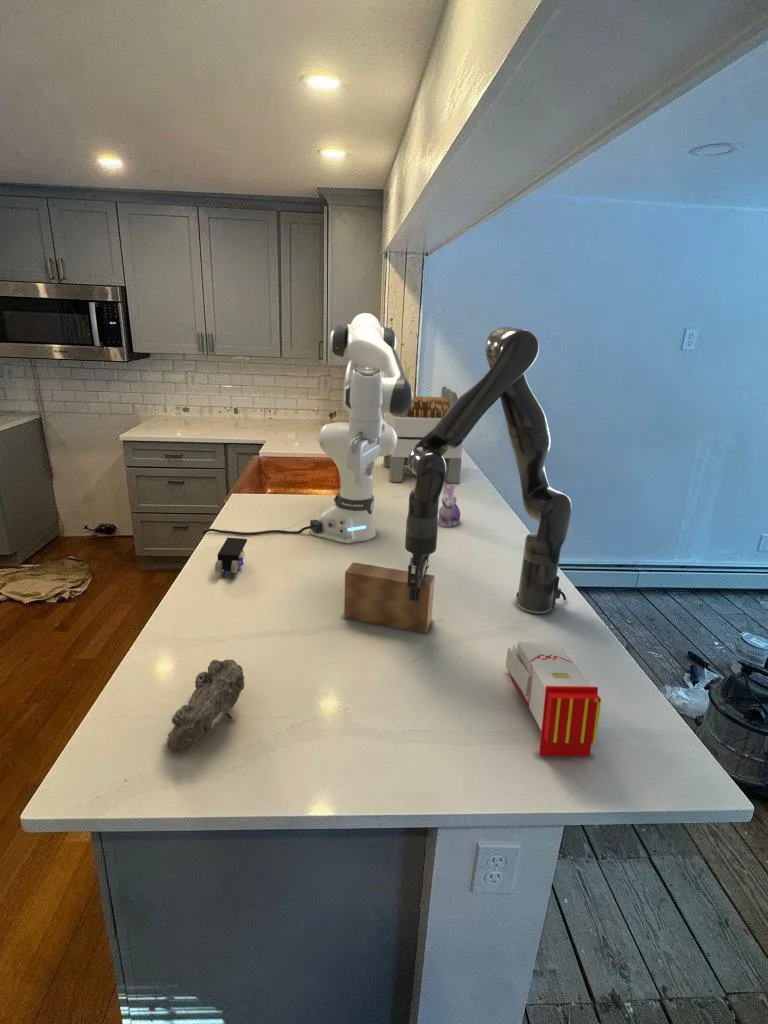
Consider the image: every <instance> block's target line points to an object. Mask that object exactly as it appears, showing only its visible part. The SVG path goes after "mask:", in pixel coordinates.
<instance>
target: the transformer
mask: <svg viewBox="0 0 768 1024" xmlns="http://www.w3.org/2000/svg"><path fill="white" fill-rule="evenodd" d="M440 393H441V394H440V396H415V395H414V396H413V399H412V404H411V407H410V408H409V409H408V410H407V411H406V412H404V413H403V414H401V415H398V414H391V413H385V414H386V415H385V422H386V423H387V424H388V425H389V426H391V427H392V428H393V429H394V431H395V432H396V435H397V446H396V448H395V450H394V451H393V453H392V454H391V455H387V456H383V466H384V467H388V468H389V475H388V476H389V477H388V478H389V480H390V482H391V483H402V482H403V475H404V469H405V466H406V467H407V466H408V457H409V455H410V453H411V451H412V449H413V448H414V447H415V446H416V444H417V443H418V442H419V441H420V440H422V439H423V438H424V437H425V436H426V435H427V434H428V433H429V432H430V431H432V430H433V429H434V428H435V427H436V425H437V424H438V422H439V421H440V420H441V418H442V417H443V416H444V414H445V413H446V412H447V410H448V409H449V408H450V407H451V405H452V404H453V403H454V402H455V401H456V400H457V399H458V398H459V397H458V395H457V392H455V391H453V390H452V389H451V388H447V386H442V387H441V392H440ZM463 442H464V441H463ZM463 442H462V443H461V444H460V446H459V447H457V448H455V449H449V450H448V451H447V452H446V453H445V454H444V455H443V456H442V457H443V458H444V460H445V463H446V477H445V481H446V482H447V483H449V484H455V483H456V484H459V483H461V472H462V461H463V460H462V453H463Z"/></svg>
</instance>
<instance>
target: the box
mask: <svg viewBox="0 0 768 1024" xmlns="http://www.w3.org/2000/svg"><path fill="white" fill-rule="evenodd" d="M420 574H421V573H419V575H420ZM435 581H436V575H433V574H428V573H426V574H424V577H423V578H422V579H421V582H420V588H419V599H418V601H411V600H409V593H410V588H409V587H407V584H408V570H404V569H396V568H392V567H391V568H390V567H385V566H380V565H372V564H366V563H360V562H351V564H350V565H349V566H348V568H347V569H346V570H345V571H344V598H343V599H344V600H343V601H344V604H343V605H344V607H343V610H344V611H343V612H344V613H343V618H344V619H348V620H354V621H359V622H364V623H369V624H374V625H375V624H376V625H380V626H386V627H391V628H397V629H401V630H407V631H412V632H417V633H418V632H419V633H423V634H427V633H428V631H429V628H430V625H431V623H432V617H433V605H434V604H433V603H434V592H435ZM412 582H416V581H415V580H413V581H412Z"/></svg>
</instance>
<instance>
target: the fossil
mask: <svg viewBox="0 0 768 1024" xmlns="http://www.w3.org/2000/svg"><path fill="white" fill-rule="evenodd" d="M243 670H244V669H243V667H242V665H240V664H237V662H236V661H235V660H234V659H232V658H231V659H227V658H226V659H224V660H223V661H222V660H217V659H212V660H211V661H210V663H209V665H208V666H207V671H201V672H199V673H198V674H197V675H196V676H195V680H194V684H195V685H194V687H195V689H194V690H193V693H192V694H191V697H190V698H189V700H188V704H184V705H182V706H181V707H180V709H177V710H176V711H175V713H174V715H173V716H172V718H171V723H172V724H173V727H172V730H171V731H170V732H168V734H167V738H166V741H167V742H166V745H167V749H168V750H169V751H173V752H174V753H176V754H178V753H182V752H188V751H189V752H192V751H193V750H195V748H196V747H197V746H199V744H200V743H201V742H203V741H204V740H205V739H206V738H207V737H208V736H209V735H210V734H211V733H212V732H214V730H215V729H217V727H218V726H219V724H220V722H221V721H222V720H223V719H224V718H225V716H226V717H227V719H229V720H233V717H232V715H230V714H229V710H230V709H231V708H234V706H235V704H236V703H237V702H238V699H239V697H240V695H241V693H242V691H243V690H245V689H244V688H245V675H244V671H243Z"/></svg>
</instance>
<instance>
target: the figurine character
mask: <svg viewBox="0 0 768 1024" xmlns="http://www.w3.org/2000/svg"><path fill="white" fill-rule="evenodd" d="M247 542H248V538H240V537H226V539H225V541H224V543H223V544H222V546H221V547H220V549H219V551H218V552H217V560H216V562H215V564H214V572H215V573H221V577H222V578H224V577H225V576H226V574H227V573H230V574H231V573H232V574H231V578H234V577H235V575H236V573H237V572H239V571H240V567H242V566H243V565H244V564H245V562H244V558H245V551H244V547H245V546H246V544H247Z"/></svg>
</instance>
